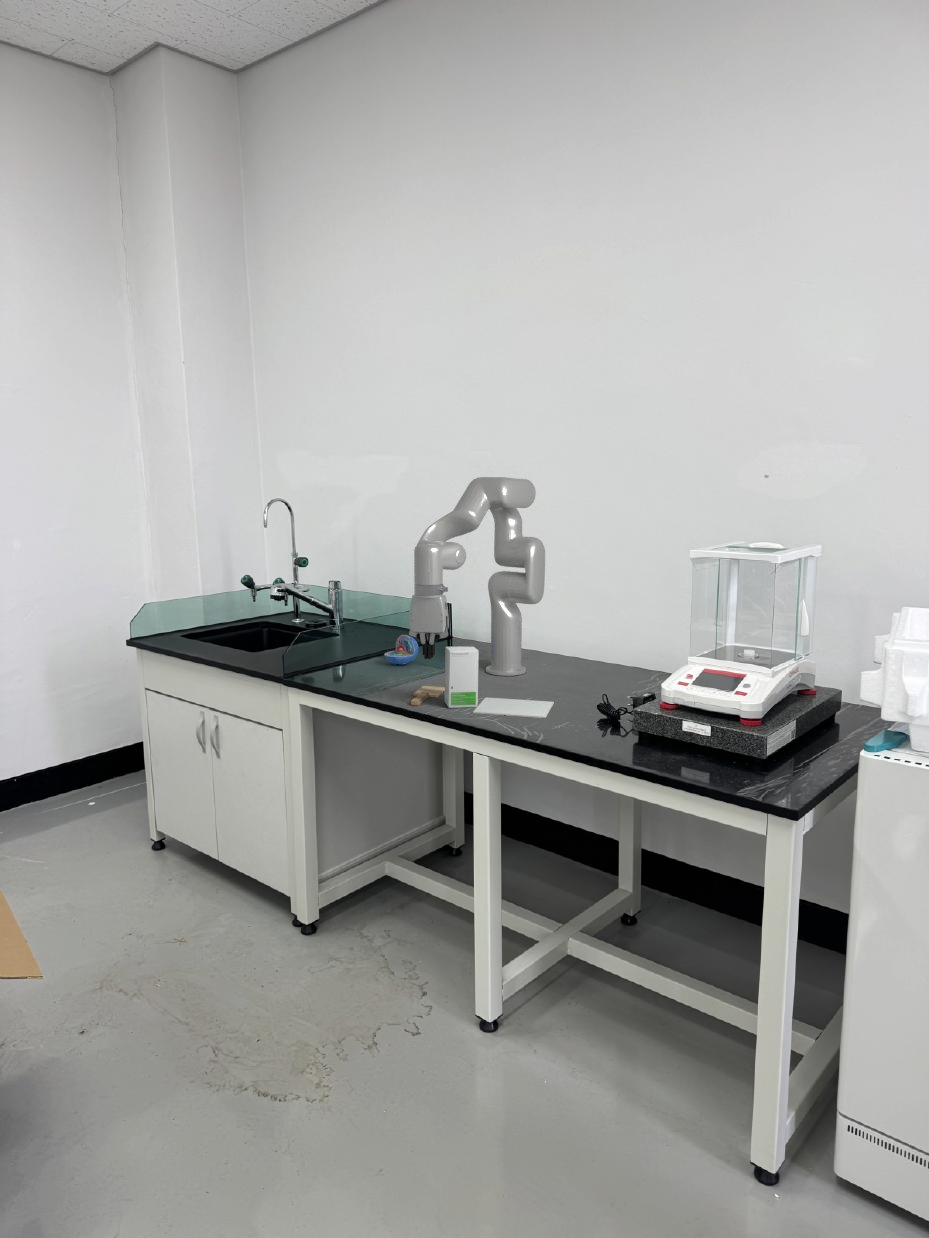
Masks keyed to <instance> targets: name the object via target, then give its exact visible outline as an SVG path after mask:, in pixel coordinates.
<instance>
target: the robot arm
mask: <svg viewBox="0 0 929 1238" xmlns="http://www.w3.org/2000/svg"><path fill="white" fill-rule="evenodd" d="M536 495H537V494H536V487H535V485H534V484H533V481H531V480H529V479H526V478H516V477H515V478H514V477H513V478H512V477H505V476H504V477H502V476H499V477H498V476H497V477H496V476H495V477H494V476H482V477H476V478H474V479H472V480H471V482H469V484H468V485H467V487H466V489H465V490H464V492H463V493H462V495H461V497H460V499H459V500H458V502H457V504H456V505H455V507H454V509H453V510H452V511H451V512H449V513H447V514H445V515H444V516H441V517H440V518H439V519H437V520H435V522H432V523H431V524H430V525H429V526H427V528H426V529H425V530H424V532H423V533H422V535H421V537H420V539H419V540H418V542H417V543H416V546H415V547H414V549H413V551H414V552H413V553H414V554H413V556H414V562H413V563H414V565H413V566H414V568H413V571H414V573H413V574H414V577H413V578H414V582H413V584H414V593H413V595H412V596H411V601H410V607H409V617H408V621H409V622H408V625H409V627H408V628H409V632H408V636H410V637H412V638H417V640H419V642H420V644H422V656H423V659H424V660H431V659H433V658H434V656H435V655H436V643H437V642H438V641H439V640H440V639H445V638H447V637H448V636H449V631H448V630H449V628H450V622H449V621H450V618H449V609H448V608H449V607H448V601H447V595H444V593H447V592H449V588H448V586H444V584H443V579H444V578H443V571H444V570H449V571H450V570H451V571H454V570H458V569H459V568H462V567H463V565H464V564H465V563H466V561H467V560H466V559H467V552H466V551H467V550H466V549H465V548H464V546H463V545H461V544H460V543H458V542H454V541H453V542H452V541H449V540H451V539H453V538H457V537H461V536H464V535H467V534H470V533H472V532H475V531H476V530H477V529H478V528H479V527H480V526H481V523H482V521H483V520H484V518H485V516H486V515H487V513H488V510H489V511H490V514H491V515H492V517H493V522H494V523H493V524H494V538H493V539H494V540H493V543H494V544H493V546H494V547H493V557H494V562H495V563H496V564H497V565H498V566H501V567H504V568H505V567H507V568H515V569H516V568H517V569H518V568H519V569H524V572H522V571H521V572H520V571H511V570H509V571H508V570H503V571H497V572H494V573H492V575H491V576H490V577H489V579H488V582H487V590H488V596H489V600H490V601H489V602H490V615H491V617H490V618H491V619H490V621H491V622H490V665H488V666H486V667H485V672H486V673H488V674H490V675H493V676H501V677H504V676H505V677H508V676H509V677H511V676H512V677H513V676H520V675H524V674H525V673H527V667H526V666H524V665H522V636H523V634H522V632H523V631H522V629H523V626H522V625H523V624H522V623H523V617H522V613H521V610H520V607H518V605H517V604H523V605H536V604H539V603H540V602H541V601H542V599H543V596H544V593H545V580H546V579H545V576H546V549H545V546H544V543H543V541H542V540H541V539H539V538H538V537H534V536H524V535H523V519H522V515H521V513H520V512H519V510H518V509H527V508H530V507H531V506H532V505H533V503H534V502H535V500H536ZM428 634H430V636H429V638H428Z"/></svg>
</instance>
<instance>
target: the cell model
mask: <svg viewBox="0 0 929 1238" xmlns="http://www.w3.org/2000/svg"><path fill="white" fill-rule="evenodd" d="M419 651H420V649H419V644H418V642H417V641H416V639H415V638H414V637H413V636H410V635H409V634H408V635H407V634H401V635H399V637H398V638H397V639H396V641H395V649H394V650H392V651H387V652H385V653H384V654H383V655H384V657H385V659H386V660H387V661H388V662H389V663H391V664H393V663H395V664H394V665H396V664H403V663H408V662H410V663H411V661H412V662H413V661H414V660H415V659H417V656H418V654H419ZM408 664H409V663H408Z"/></svg>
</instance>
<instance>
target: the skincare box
mask: <svg viewBox="0 0 929 1238" xmlns="http://www.w3.org/2000/svg"><path fill="white" fill-rule="evenodd" d="M444 650H445V655H444V656H445V659H444V660H445V661H444V662H445V663H444V665H445V666H444V667H445V668H444V671H445V672H444V687H445V691H444V703H445V705H446V706H447V707H448V708H449V709H454V708H455V709H457V708H459V709H460V708H461V709H462V708H477V707H478V705H479V702H478V700H479V699H478V698H479V694H478V693H479V655H480V654H479V652H480V651H479V649H478V648H476V647H475V646H445V649H444Z"/></svg>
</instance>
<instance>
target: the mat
mask: <svg viewBox="0 0 929 1238" xmlns="http://www.w3.org/2000/svg"><path fill="white" fill-rule="evenodd" d="M554 703H555V702H554V701H545V700H534V699H533V700H529V699H516V698H515V699H514V698H513V699H512V698H502V697H485V698H483V700H482V701H481V702H480V703H478V707H475V708H474V710H473V711H472V714H478V715H492V716H504V715H506V716H507V717H519V718H520V717H521V718H535V719H546V718H547V716H548V715H549V713H550V711H551V709H552V708H553V706H554ZM506 716H505V717H506Z"/></svg>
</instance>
